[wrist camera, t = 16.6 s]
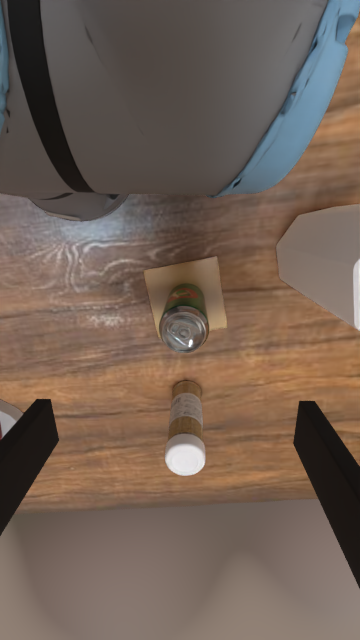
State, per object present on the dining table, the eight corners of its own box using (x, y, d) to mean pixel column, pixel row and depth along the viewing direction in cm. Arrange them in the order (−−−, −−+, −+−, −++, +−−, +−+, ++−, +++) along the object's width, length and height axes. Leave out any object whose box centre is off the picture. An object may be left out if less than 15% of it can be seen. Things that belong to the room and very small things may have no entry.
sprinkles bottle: (184, 409, 44) (181, 483, 32) (166, 389, 43) (156, 458, 31) (207, 394, 43) (214, 465, 31) (190, 374, 42) (189, 438, 29)
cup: (288, 199, 34) (391, 172, 16) (377, 215, 34) (575, 206, 16) (264, 287, 37) (326, 344, 20) (344, 302, 38) (476, 370, 20)
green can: (194, 323, 39) (194, 364, 28) (161, 308, 38) (148, 343, 27) (211, 292, 37) (219, 322, 26) (178, 275, 37) (171, 298, 26)
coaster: (143, 270, 37) (142, 270, 37) (217, 256, 36) (217, 256, 36) (158, 337, 40) (158, 338, 40) (227, 326, 39) (227, 327, 39)
